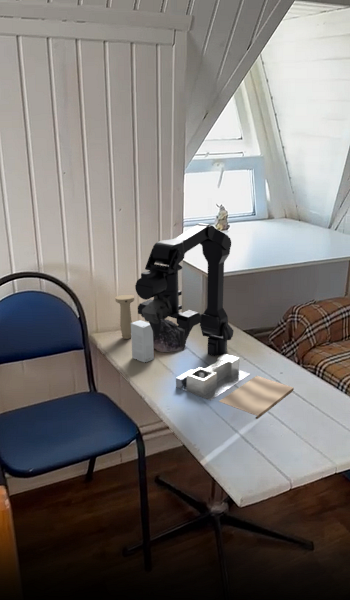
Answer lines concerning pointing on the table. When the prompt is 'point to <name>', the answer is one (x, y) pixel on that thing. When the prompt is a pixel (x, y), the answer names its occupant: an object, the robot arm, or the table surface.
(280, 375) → the table surface
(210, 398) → the plate
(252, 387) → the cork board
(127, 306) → the handle
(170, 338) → the crystal cluster
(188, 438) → the table surface
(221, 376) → the white open-top bracket
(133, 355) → the skincare box
